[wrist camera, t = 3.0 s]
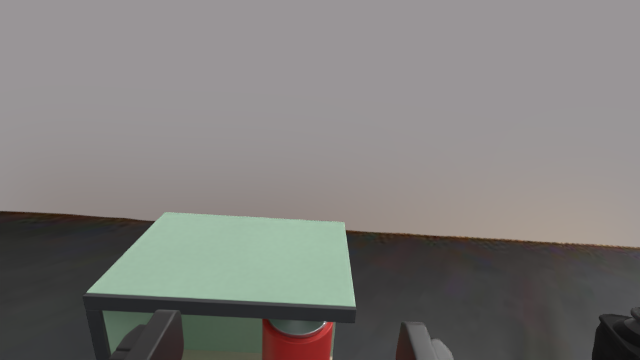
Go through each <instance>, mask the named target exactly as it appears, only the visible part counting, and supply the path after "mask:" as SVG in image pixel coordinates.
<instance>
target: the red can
mask: <svg viewBox="0 0 640 360" xmlns="http://www.w3.org/2000/svg"><path fill="white" fill-rule="evenodd" d="M332 330H333V322H318V321H299V320H279V319H262V360H330V351H331V341H332Z"/></svg>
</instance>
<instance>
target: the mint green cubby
mask: <svg viewBox="0 0 640 360" xmlns="http://www.w3.org/2000/svg"><path fill="white" fill-rule="evenodd" d="M83 300H84V305H85V309H86V314H87V319H88V323H89V328H90V332H91V337H92V341H93V346H94V351H95V355H96V360H108V359H109V358H110V356H111V355H112V354H113V352H114V351H116V348H117V346H118V345H119V344H120V342H121V341H122V339H123V338H124V336H125V335H126V334H128V333H129V332H130V331H131V330H133V329H134V328H135V327H136V326H138V325H139V324H144V325H147V323H148V322H149V320H150V319H151V317H152V316H153V314H154V313H155V311H156V310H179V311H180V312H181V318H182V328H183V338H184V351H183V356H182V359H181V360H262V319H279V320H299V321H318V322H333V330H332V341H331V351H330V360H332V354H333V343H334V333H335V323H336V322H338V323H355V316H356V306H355V298H354V291H353V284H352V276H351V269H350V261H349V254H348V247H347V239H346V232H345V225H344V222H330V221H312V220H294V219H277V218H276V219H275V218H259V217H240V216H223V215H205V214H187V213H169V212H165V213H164V214H163V215H162V216H161V217H160V218H159V219H158V220H157V221H156V222H155V223H154V224H153V225H152V226H151V227H150V228H149V229H148V230H147V231H146V232H145V233H144V234H143V235H142V236H141V237H140V238H139V239H138V240H137V241H136V242H135V243H134V244H133V245H132V246H131V247H130V248H129V249H128V250H127V251H126V252H125V253H124V254H123V256H122V257H121V258H120V259H119V260H118V261H117V262H116V263H115V264H114V265H113V266H112V267H111V268H110V269H109V270H108V271H107V272H106V273H105V274H104V275H103V276H102V277H101V278H100V279H99V280H98V281H97V282H96V283H95V284H94V285H93V286H92V287H91V288H90V289H89V290H88V291H87V292H86V293H85V294H84V295H83Z"/></svg>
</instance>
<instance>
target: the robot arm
mask: <svg viewBox="0 0 640 360" xmlns="http://www.w3.org/2000/svg"><path fill="white" fill-rule="evenodd" d="M183 351H184V338H183V328H182V318H181V312H180V311H179V310H156V311H155V313H154V314H153V316H152V317H151V319H150V320H149V322H148V323H147V325H144V324H139V325H138V326H136V327H135V328H134V329H133V330H131V331H130V332H129V333H128V334H126V335H125V336H124V338H123V339H122V341H121V342H120V344H119V345H118V346H117V348H116V351H114V352H113V354H112V355H111V356H110V358H109V359H108V360H181V359H182V356H183ZM396 360H454V358H453V356H452V354H451V352H450V350H449V349H448V348H447V347H446V346H445V345H444V343H443V342H442V341H441V340H440V339H434V338H430V336H429V334H428V331H427V329H426V326H425V324H424V323H423V322H402V323H401V327H400V333H399V339H398V345H397V351H396Z"/></svg>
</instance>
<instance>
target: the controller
mask: <svg viewBox="0 0 640 360" xmlns="http://www.w3.org/2000/svg"><path fill="white" fill-rule="evenodd" d="M631 315H632V316H633V317H634V318H632V317H628V316H623V315H615V314H602V315H600V316H599V319H600V321H601V323H600V325H599V326H598V327H597V329H596V334H595V342H594V348H593V352H592V360H640V308H639V307H635V308H632V309H631Z"/></svg>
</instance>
